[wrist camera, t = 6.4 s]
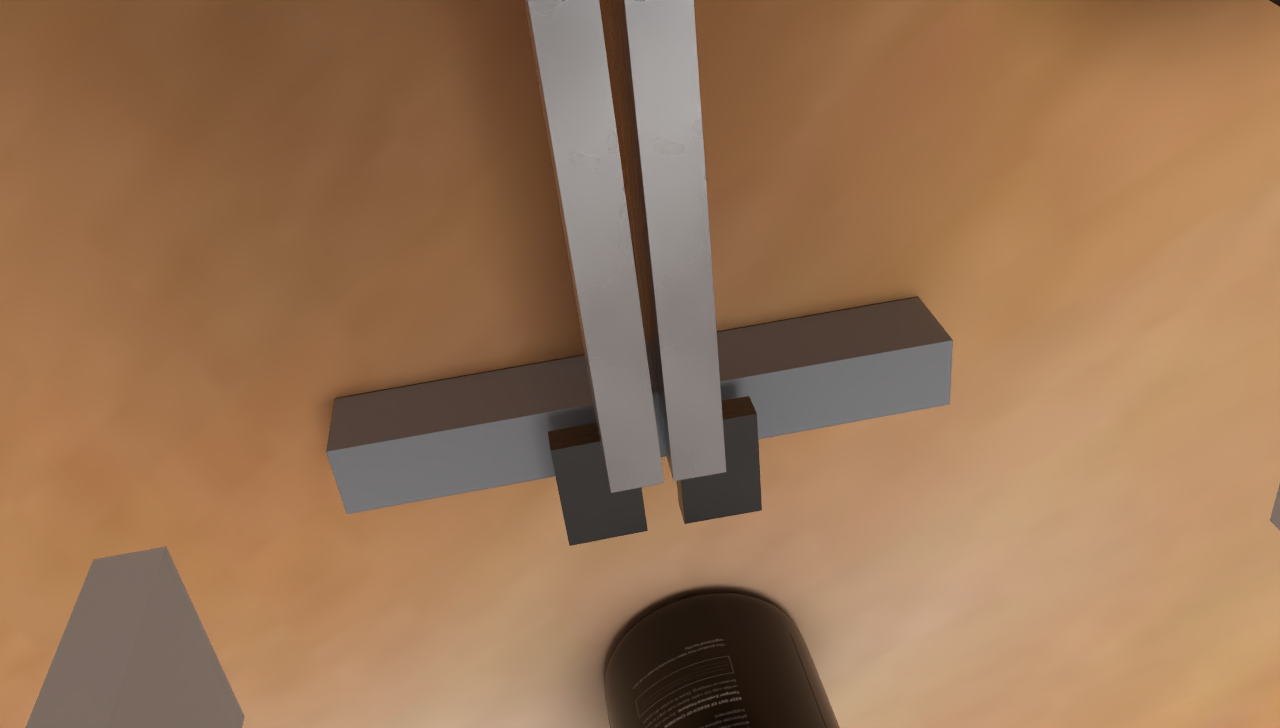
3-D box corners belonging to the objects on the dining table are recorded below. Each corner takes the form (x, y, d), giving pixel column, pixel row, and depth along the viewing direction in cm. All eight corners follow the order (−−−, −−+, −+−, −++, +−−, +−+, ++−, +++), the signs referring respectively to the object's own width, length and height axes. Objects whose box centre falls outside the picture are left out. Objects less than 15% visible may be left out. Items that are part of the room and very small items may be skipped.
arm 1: (391, -349, 18) (382, -357, 16) (533, -369, 18) (547, -380, 16) (565, 520, 28) (578, 601, 26) (656, 503, 28) (677, 581, 26)
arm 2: (565, -373, 18) (584, -385, 16) (705, -388, 19) (746, -402, 16) (662, 501, 28) (683, 580, 26) (752, 486, 29) (782, 562, 26)
